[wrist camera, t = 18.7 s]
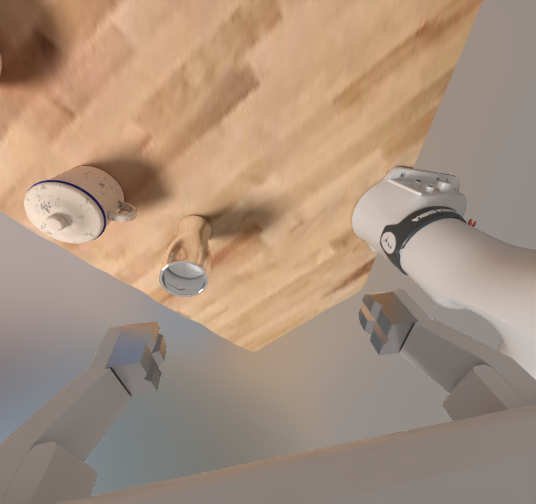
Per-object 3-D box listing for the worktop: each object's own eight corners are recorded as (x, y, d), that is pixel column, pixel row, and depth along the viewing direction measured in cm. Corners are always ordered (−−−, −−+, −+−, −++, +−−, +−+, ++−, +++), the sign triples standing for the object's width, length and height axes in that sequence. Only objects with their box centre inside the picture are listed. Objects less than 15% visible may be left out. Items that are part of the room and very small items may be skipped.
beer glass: (193, 205, 42) (181, 250, 30) (221, 230, 46) (220, 279, 34) (167, 228, 44) (146, 280, 32) (196, 250, 48) (186, 305, 35)
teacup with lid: (66, 211, 39) (16, 248, 30) (58, 156, 35) (-4, 179, 25) (144, 225, 43) (121, 262, 33) (146, 177, 38) (120, 204, 29)
